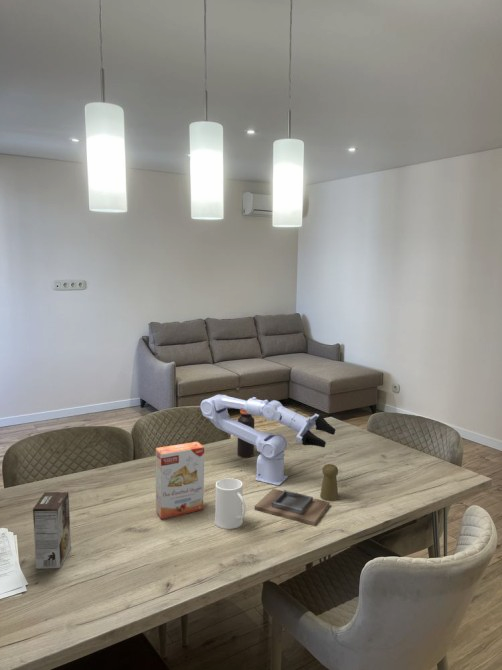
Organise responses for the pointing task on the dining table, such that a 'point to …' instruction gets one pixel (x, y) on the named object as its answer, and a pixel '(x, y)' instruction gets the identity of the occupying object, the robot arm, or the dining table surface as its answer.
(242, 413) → the bottle
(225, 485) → the mug
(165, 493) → the cracker box
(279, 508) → the wooden socket base
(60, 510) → the coffee box
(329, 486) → the cork
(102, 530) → the dining table surface
